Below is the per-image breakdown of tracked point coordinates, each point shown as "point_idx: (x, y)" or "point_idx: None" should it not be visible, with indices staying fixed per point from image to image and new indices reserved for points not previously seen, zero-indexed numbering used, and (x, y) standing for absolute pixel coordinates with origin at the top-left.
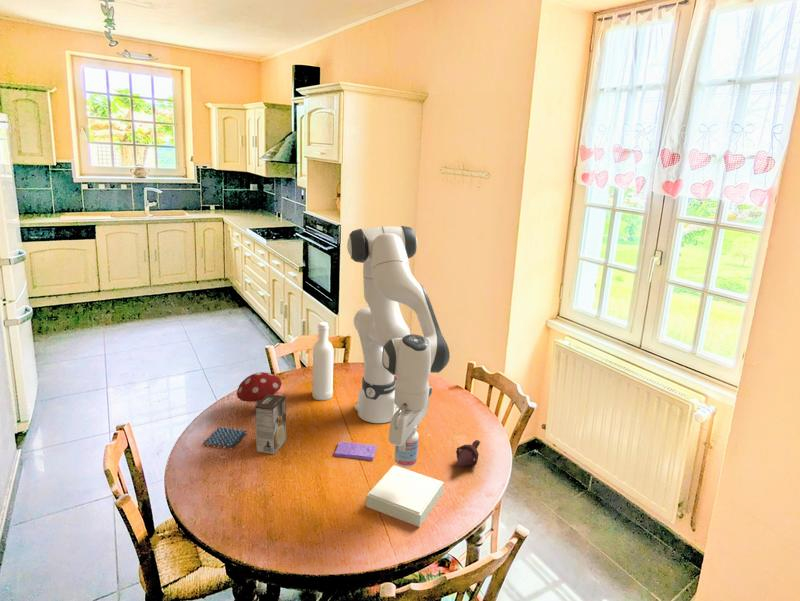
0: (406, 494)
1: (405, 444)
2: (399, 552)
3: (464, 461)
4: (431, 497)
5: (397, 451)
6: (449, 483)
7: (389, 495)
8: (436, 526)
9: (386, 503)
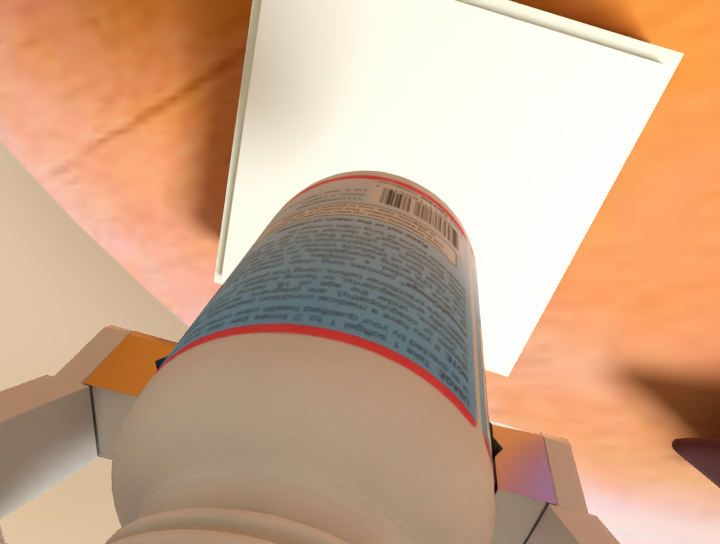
0: None
1: (51, 477)
2: (73, 186)
3: (712, 481)
4: None
5: (240, 263)
6: (587, 364)
7: (295, 99)
8: None
9: (241, 90)
